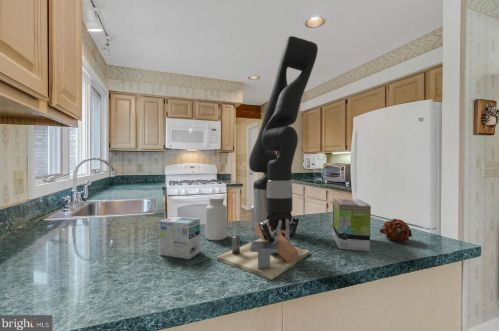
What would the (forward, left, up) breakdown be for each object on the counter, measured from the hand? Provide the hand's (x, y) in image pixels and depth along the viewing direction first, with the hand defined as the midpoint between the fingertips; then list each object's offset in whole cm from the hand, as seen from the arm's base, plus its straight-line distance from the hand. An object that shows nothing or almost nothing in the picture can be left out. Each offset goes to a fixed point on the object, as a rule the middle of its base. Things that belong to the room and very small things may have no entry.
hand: (279, 253), depth 72 cm
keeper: (+1, -8, 0) cm, 8 cm away
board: (-4, -2, -1) cm, 5 cm away
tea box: (+12, +27, -2) cm, 30 cm away
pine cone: (+24, +40, -2) cm, 47 cm away
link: (-2, +1, +2) cm, 3 cm away
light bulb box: (-26, -16, -2) cm, 31 cm away
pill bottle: (-29, +2, -2) cm, 29 cm away
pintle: (-11, -7, -1) cm, 13 cm away
